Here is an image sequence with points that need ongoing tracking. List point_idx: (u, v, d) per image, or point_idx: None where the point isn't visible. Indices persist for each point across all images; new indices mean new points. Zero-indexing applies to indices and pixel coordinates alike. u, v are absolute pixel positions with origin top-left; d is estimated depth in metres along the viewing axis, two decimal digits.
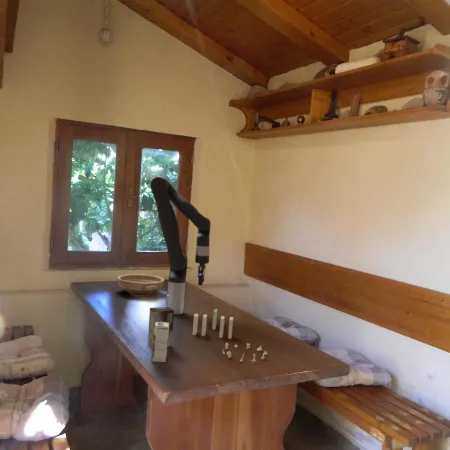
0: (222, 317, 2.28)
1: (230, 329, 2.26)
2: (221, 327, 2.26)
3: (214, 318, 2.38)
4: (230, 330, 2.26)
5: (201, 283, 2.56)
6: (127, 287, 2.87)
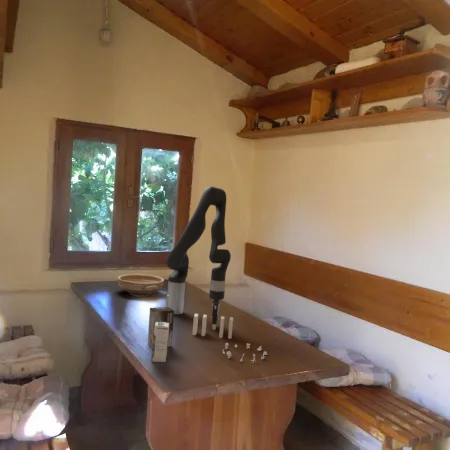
0: (222, 317, 2.28)
1: (230, 329, 2.26)
2: (221, 327, 2.26)
3: None
4: (230, 330, 2.26)
5: (215, 322, 2.37)
6: (127, 287, 2.87)
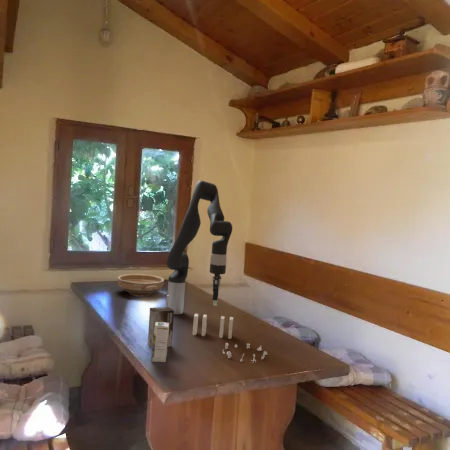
0: (222, 317, 2.28)
1: (230, 329, 2.26)
2: (221, 327, 2.26)
3: None
4: (230, 330, 2.26)
5: (216, 298, 2.24)
6: (127, 287, 2.87)
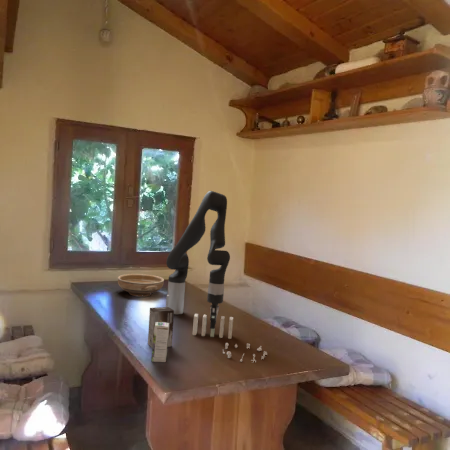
0: (222, 317, 2.28)
1: (230, 329, 2.26)
2: (221, 327, 2.26)
3: None
4: (230, 330, 2.26)
5: (213, 326, 2.23)
6: (127, 287, 2.87)
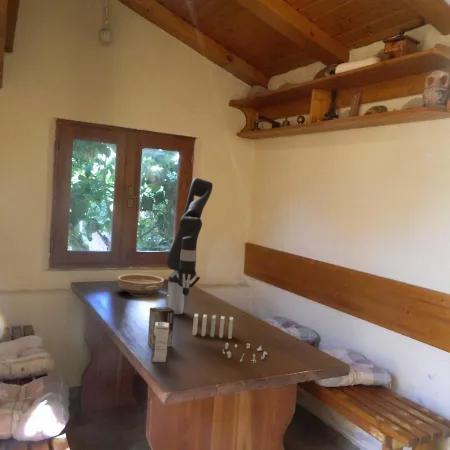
0: (222, 317, 2.28)
1: (230, 329, 2.26)
2: (221, 327, 2.26)
3: (212, 325, 2.26)
4: (230, 330, 2.26)
5: (182, 292, 2.27)
6: (127, 287, 2.87)
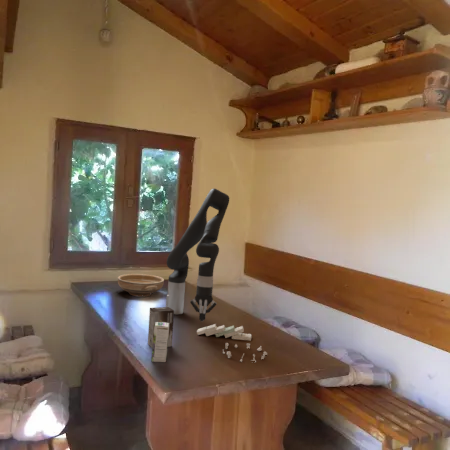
0: (243, 328, 2.28)
1: (241, 337, 2.26)
2: (234, 332, 2.26)
3: (227, 331, 2.26)
4: (240, 338, 2.26)
5: (199, 318, 2.28)
6: (127, 287, 2.87)
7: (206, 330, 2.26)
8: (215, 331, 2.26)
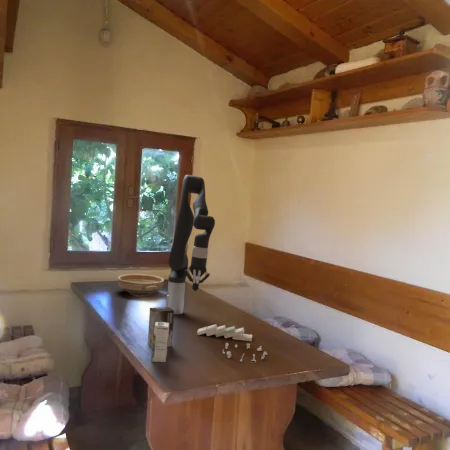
0: (243, 330, 2.26)
1: (242, 338, 2.25)
2: (234, 334, 2.25)
3: (226, 332, 2.25)
4: (240, 338, 2.25)
5: (192, 288, 2.36)
6: (127, 287, 2.87)
7: (206, 330, 2.26)
8: (216, 331, 2.26)
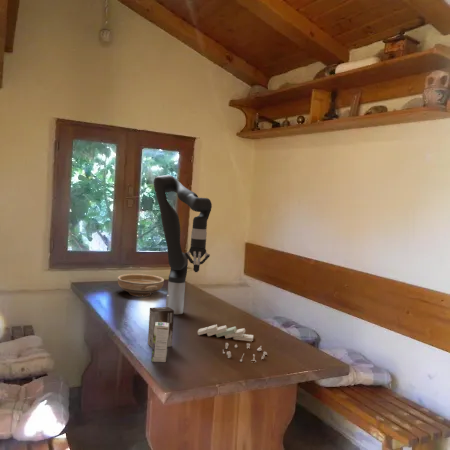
0: (244, 330, 2.26)
1: (243, 338, 2.25)
2: (234, 334, 2.24)
3: (227, 332, 2.25)
4: (241, 338, 2.25)
5: (193, 269, 2.40)
6: (127, 287, 2.87)
7: (207, 330, 2.26)
8: (216, 331, 2.26)
